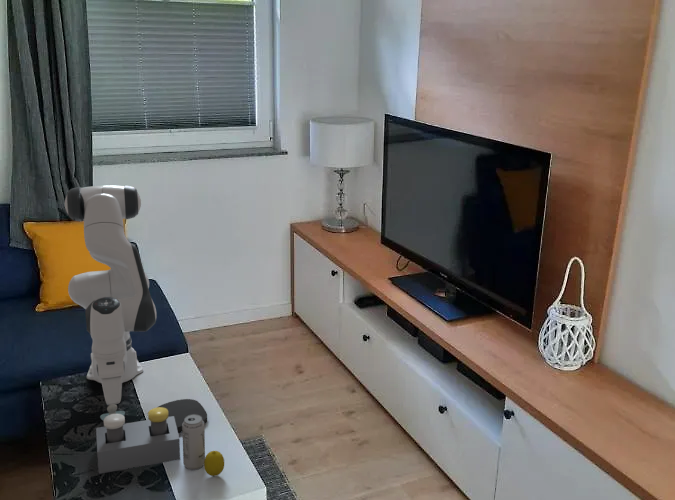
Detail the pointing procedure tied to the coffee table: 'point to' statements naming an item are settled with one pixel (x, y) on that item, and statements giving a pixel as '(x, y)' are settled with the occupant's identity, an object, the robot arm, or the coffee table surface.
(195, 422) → the energy drink can
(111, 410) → the pacifier
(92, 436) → the coffee table surface
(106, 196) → the robot arm
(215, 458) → the lemon
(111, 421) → the knob white
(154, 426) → the knob mustard
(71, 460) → the coffee table surface
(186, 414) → the media streaming box
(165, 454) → the mount
